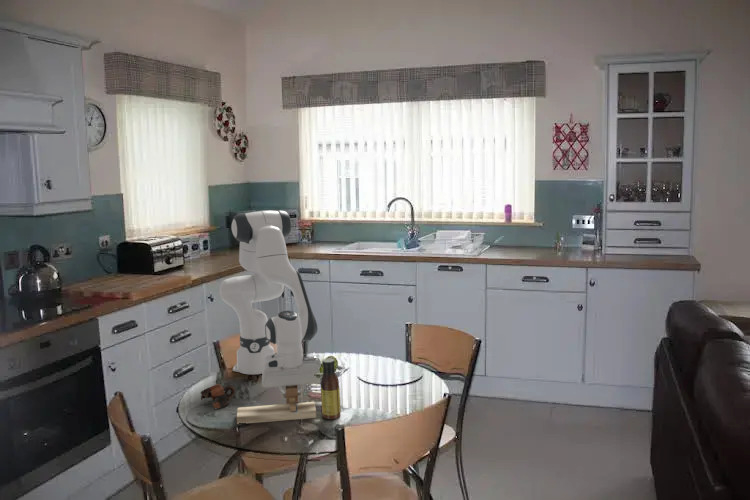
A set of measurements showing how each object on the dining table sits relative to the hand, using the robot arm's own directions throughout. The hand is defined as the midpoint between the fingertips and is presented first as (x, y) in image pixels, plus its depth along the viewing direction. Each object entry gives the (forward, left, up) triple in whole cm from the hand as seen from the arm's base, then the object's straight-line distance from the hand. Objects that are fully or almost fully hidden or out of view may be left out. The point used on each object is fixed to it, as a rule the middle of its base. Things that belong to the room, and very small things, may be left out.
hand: (292, 396), depth 236 cm
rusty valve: (-8, -26, -4) cm, 27 cm away
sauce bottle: (+11, +13, -4) cm, 17 cm away
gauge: (+5, 0, -3) cm, 6 cm away
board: (+7, -5, -4) cm, 10 cm away
